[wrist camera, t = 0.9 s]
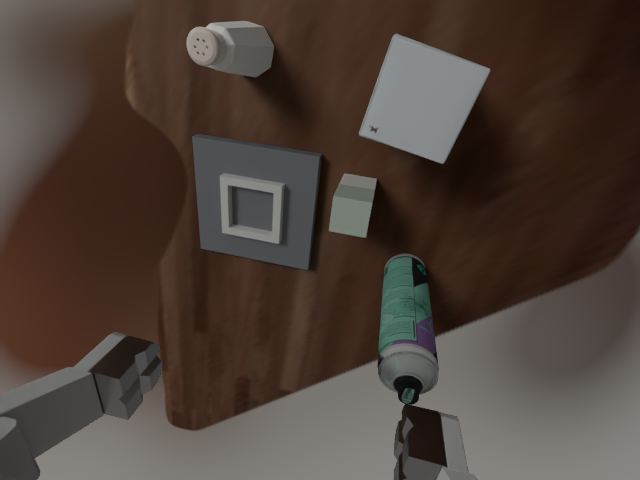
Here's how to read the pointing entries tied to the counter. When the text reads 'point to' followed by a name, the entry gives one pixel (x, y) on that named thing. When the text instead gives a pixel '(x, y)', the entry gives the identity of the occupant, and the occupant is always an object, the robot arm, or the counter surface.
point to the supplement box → (422, 99)
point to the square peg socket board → (256, 199)
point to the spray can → (407, 330)
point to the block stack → (352, 205)
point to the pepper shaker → (232, 47)
